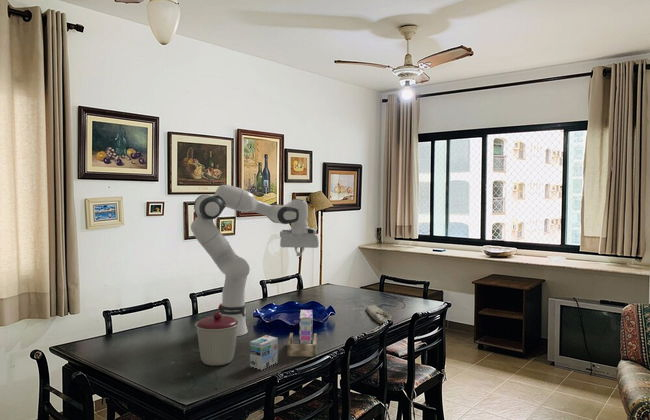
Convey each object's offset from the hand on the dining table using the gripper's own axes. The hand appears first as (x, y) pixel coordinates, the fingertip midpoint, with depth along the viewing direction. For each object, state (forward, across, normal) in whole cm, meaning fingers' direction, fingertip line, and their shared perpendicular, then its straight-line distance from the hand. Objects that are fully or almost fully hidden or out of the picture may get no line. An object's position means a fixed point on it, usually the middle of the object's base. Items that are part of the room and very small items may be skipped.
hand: (299, 255), depth 251 cm
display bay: (+37, +4, -36) cm, 52 cm away
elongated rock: (+38, +44, +18) cm, 61 cm away
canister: (+37, -31, -53) cm, 72 cm away
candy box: (+37, +5, -36) cm, 52 cm away
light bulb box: (+37, -11, -56) cm, 68 cm away
